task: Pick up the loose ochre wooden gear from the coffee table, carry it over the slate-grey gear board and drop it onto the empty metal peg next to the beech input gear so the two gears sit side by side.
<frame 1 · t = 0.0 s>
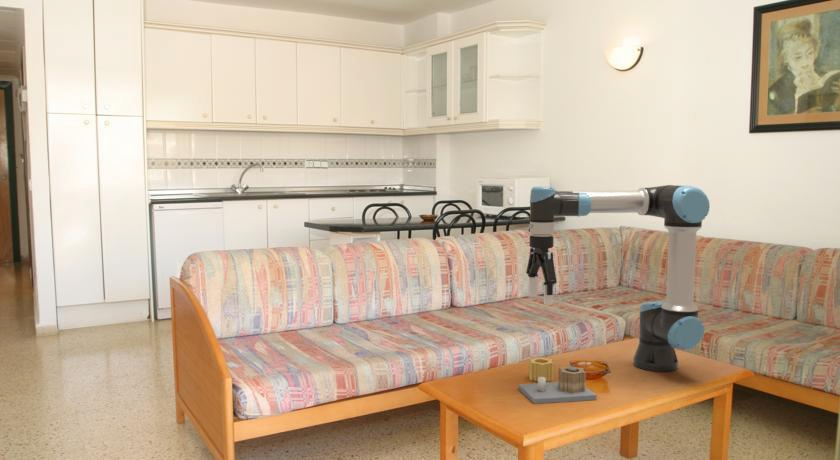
hand: (540, 300, 220), 28 cm above the table, fingers open, 13 cm apart
input gear: (571, 388, 215), resting on gear board
gear board: (556, 394, 214), on the table
ochre gear: (541, 378, 230), on the table
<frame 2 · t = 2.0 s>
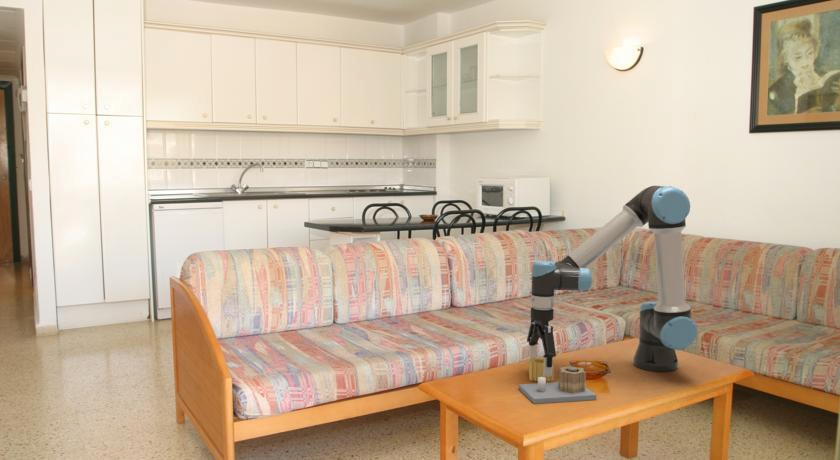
hand: (540, 370, 229), 3 cm above the table, fingers open, 13 cm apart
nothing on the table moved.
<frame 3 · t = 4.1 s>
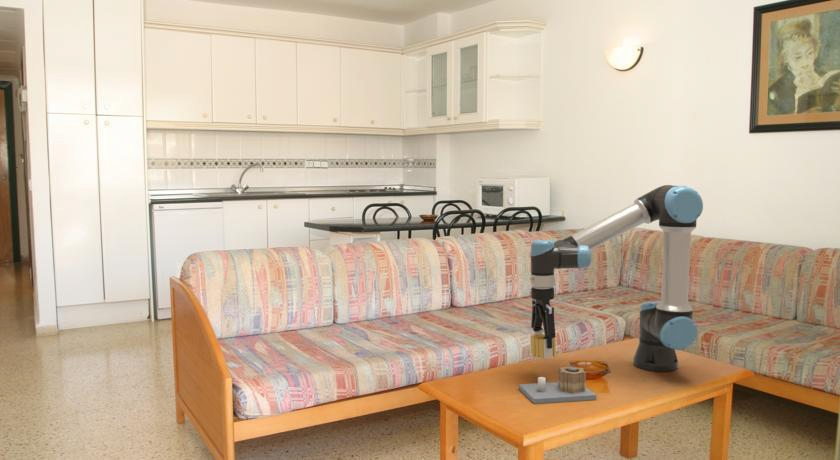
hand: (543, 353, 229), 8 cm above the table, fingers closed on ochre gear, 8 cm apart
ochre gear: (543, 354, 229), point 8 cm above the table, touching gripper
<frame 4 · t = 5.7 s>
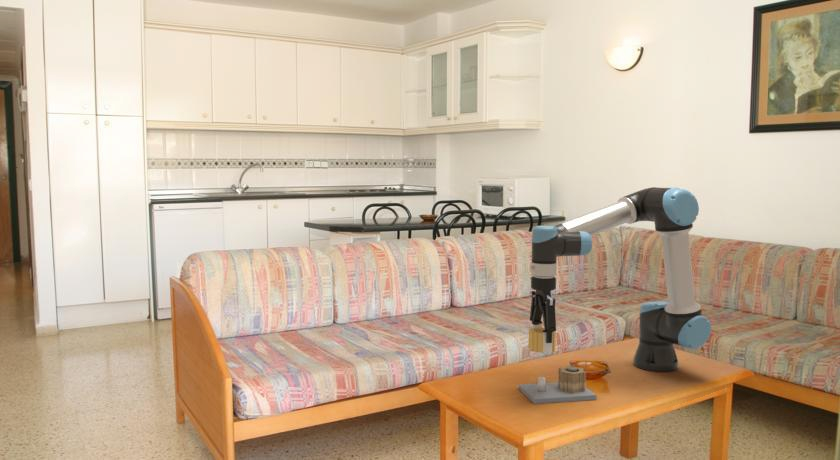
hand: (541, 348, 211), 15 cm above the table, fingers closed on ochre gear, 8 cm apart
ochre gear: (541, 349, 212), point 14 cm above the table, touching gripper
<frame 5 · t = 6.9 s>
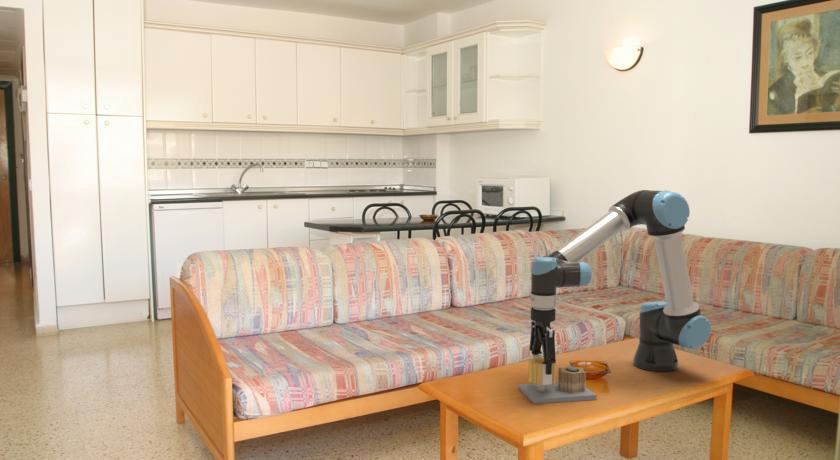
hand: (541, 379, 212), 5 cm above the table, fingers closed on ochre gear, 8 cm apart
ochre gear: (541, 380, 212), point 5 cm above the table, touching gripper
when the fingers open (2 cm above the table, at t = 7.8 s): ochre gear stays where it is, resting on gear board.
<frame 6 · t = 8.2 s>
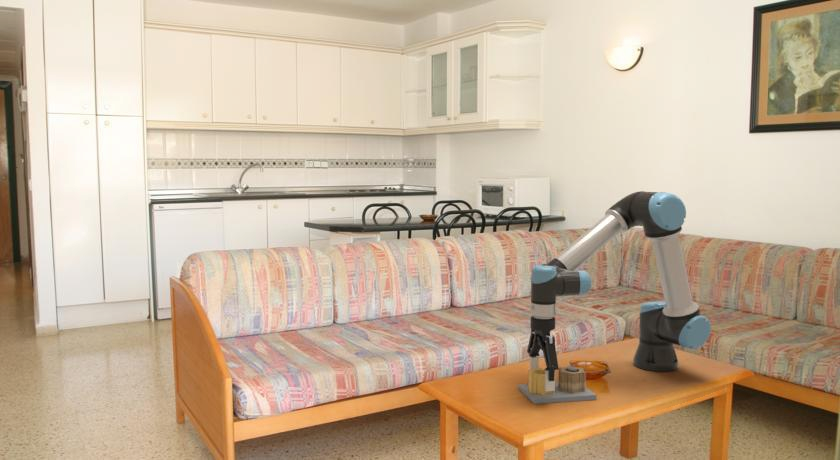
hand: (541, 383, 213), 4 cm above the table, fingers open, 13 cm apart
ochre gear: (541, 390, 213), point 1 cm above the table, touching gear board
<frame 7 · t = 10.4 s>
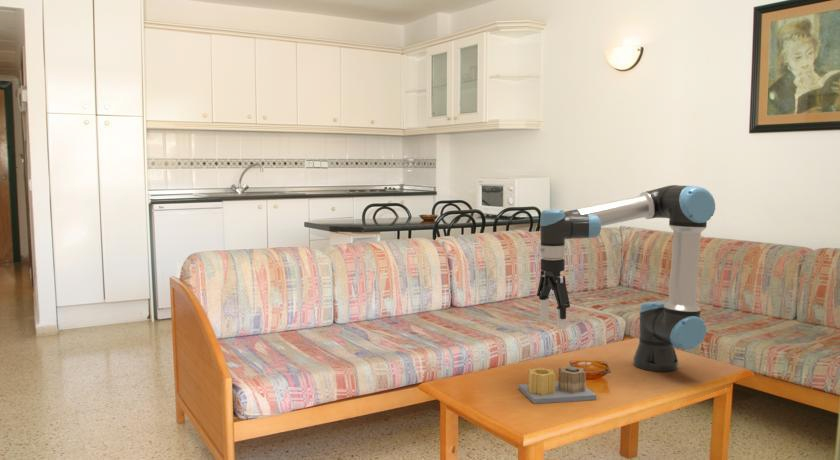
hand: (552, 323, 219), 21 cm above the table, fingers open, 13 cm apart
nothing on the table moved.
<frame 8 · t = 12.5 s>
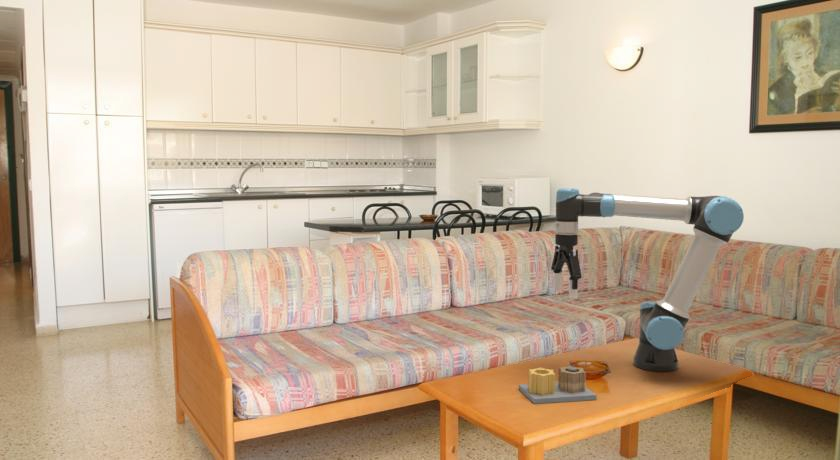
hand: (565, 294, 236), 27 cm above the table, fingers open, 13 cm apart
nothing on the table moved.
at the end: ochre gear 0.0 cm from the target spot on the gear board, point 1.5 cm above the gear board's base; ochre gear tilted 0°; the gripper is holding nothing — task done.
